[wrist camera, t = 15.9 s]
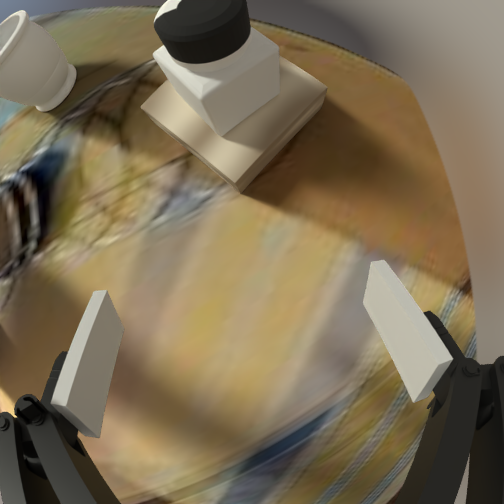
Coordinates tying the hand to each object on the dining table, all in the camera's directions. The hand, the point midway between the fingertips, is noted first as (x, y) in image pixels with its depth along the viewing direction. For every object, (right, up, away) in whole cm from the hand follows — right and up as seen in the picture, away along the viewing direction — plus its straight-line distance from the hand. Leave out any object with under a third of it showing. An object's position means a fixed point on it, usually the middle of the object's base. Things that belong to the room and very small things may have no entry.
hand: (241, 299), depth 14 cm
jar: (-29, +27, +18) cm, 43 cm away
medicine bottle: (-2, +17, +11) cm, 20 cm away
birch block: (-1, +17, +16) cm, 23 cm away
